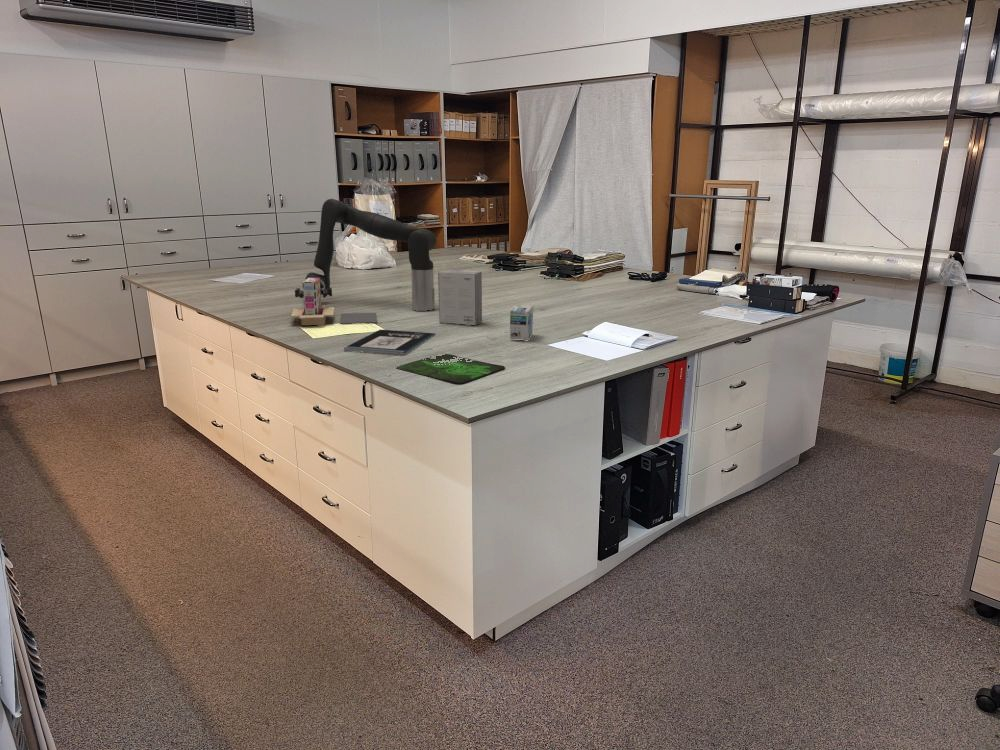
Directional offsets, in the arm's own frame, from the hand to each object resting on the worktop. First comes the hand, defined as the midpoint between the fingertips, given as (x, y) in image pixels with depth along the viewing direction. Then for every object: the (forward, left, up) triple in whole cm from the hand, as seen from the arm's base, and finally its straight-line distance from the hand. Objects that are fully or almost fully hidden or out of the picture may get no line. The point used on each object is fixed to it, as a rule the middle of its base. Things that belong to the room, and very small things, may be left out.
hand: (312, 295), depth 263 cm
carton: (0, +3, -10) cm, 10 cm away
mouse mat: (-44, +75, -10) cm, 88 cm away
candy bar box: (0, +3, -10) cm, 10 cm away
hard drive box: (-56, +14, -10) cm, 59 cm away
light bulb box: (-74, +41, -10) cm, 85 cm away
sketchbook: (-28, +41, -10) cm, 51 cm away
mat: (-17, +1, -10) cm, 20 cm away
